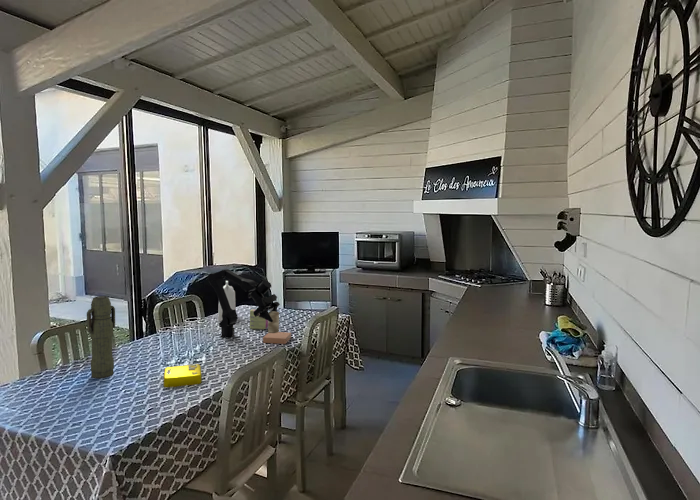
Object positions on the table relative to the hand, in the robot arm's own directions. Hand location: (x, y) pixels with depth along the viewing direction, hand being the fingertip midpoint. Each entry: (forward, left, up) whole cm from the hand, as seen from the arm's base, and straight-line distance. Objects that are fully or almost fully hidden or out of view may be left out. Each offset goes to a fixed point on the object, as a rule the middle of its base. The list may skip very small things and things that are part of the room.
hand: (275, 320), depth 246 cm
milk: (-50, +53, -14) cm, 74 cm away
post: (-1, 0, -7) cm, 7 cm away
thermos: (-61, -60, -14) cm, 87 cm away
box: (-20, +32, -14) cm, 40 cm away
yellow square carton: (-24, -59, -14) cm, 65 cm away
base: (-1, +8, -13) cm, 16 cm away
